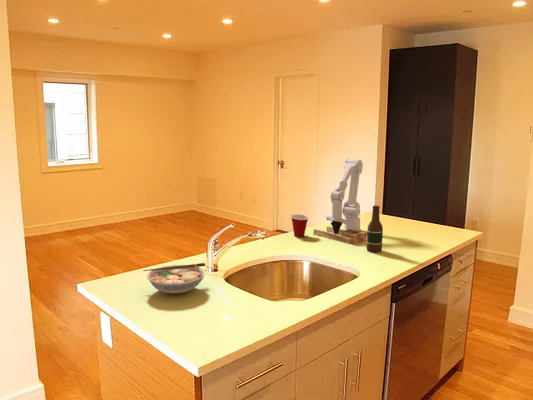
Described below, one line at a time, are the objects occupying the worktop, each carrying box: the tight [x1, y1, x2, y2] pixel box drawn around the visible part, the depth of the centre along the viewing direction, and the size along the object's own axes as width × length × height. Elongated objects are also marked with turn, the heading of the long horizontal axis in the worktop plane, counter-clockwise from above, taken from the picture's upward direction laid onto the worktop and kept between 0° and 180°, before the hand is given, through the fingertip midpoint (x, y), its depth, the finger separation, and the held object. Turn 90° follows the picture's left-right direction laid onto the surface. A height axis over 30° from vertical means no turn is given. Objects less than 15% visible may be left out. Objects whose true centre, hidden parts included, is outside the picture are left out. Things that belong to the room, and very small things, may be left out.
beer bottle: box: [366, 205, 384, 254], centre depth 237 cm, size 8×8×24 cm
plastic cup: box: [290, 214, 310, 238], centre depth 268 cm, size 11×11×12 cm
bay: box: [312, 226, 367, 245], centre depth 266 cm, size 13×30×5 cm, turn 40°
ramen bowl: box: [142, 262, 206, 295], centre depth 181 cm, size 25×23×8 cm
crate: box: [341, 229, 360, 238], centre depth 260 cm, size 7×7×5 cm
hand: (336, 233), depth 268 cm, fingers closed
